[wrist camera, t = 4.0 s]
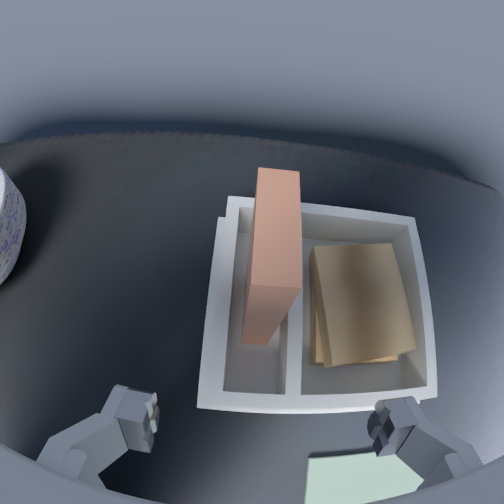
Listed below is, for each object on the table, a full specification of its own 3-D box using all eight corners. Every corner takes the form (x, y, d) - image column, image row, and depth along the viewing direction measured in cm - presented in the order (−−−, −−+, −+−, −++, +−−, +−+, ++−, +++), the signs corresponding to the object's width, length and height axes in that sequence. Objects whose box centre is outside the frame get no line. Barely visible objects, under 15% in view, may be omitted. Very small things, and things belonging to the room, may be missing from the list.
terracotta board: (269, 275, 26) (299, 171, 14) (266, 345, 23) (302, 287, 12) (246, 273, 26) (258, 167, 14) (241, 343, 23) (250, 284, 12)
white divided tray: (399, 240, 30) (421, 214, 25) (413, 404, 22) (446, 401, 18) (218, 222, 29) (216, 190, 25) (198, 407, 21) (189, 409, 17)
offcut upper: (381, 254, 25) (391, 243, 24) (403, 353, 21) (416, 348, 20) (308, 257, 25) (313, 246, 23) (324, 367, 21) (332, 364, 19)
